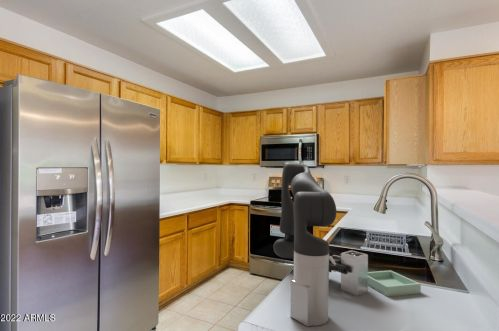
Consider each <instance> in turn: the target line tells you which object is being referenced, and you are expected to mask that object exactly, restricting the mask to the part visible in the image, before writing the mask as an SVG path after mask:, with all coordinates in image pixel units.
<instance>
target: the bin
mask: <svg viewBox="0 0 499 331" xmlns="http://www.w3.org/2000/svg"><path fill="white" fill-rule="evenodd" d="M421 285H422V284H421V282H417V281H415V280H413V279H411V278H408V277H407V276H404V275H402V274H401V273H398V272H395V271H393V270H391V269H390V270H378V271H368V287H370V288H372V289H373V290H375V291H377V292H378V293H380V294H382V295H384V296H385V297H397V296H405V295H406V296H407V295H414V294H415V295H416V294H421V292H422V290H421V289H422V288H421V287H422V286H421Z"/></svg>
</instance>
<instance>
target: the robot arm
mask: <svg viewBox="0 0 499 331" xmlns="http://www.w3.org/2000/svg"><path fill="white" fill-rule="evenodd" d="M281 176H282V177H281V209H280V210H281V212H280V213H281V214H280V222H279V231H280V233H281V234H282V235H283V234H284V235H285V238H278V239H277V240H275V241H274V243H273V246H272V248H273V251H274V253H275V255H277V256H278V257H280V258H284V259H290V260H293V279H292V280H290V311H289V312H290V317H291V318H292V319H294V320H295V321H297V322H299V323H301V325H304V326H306V327H310V326H323V325H324V324H327V323H328V321H329V306H330V304H329V296H330V294H329V290H330V289H329V288H330V281H329V280H330V279H329V278H330V277H329V275H330V273H332V272H334V273H336V272H338V273H340V274H341V273H343V274H348V268H347V267H345V266H342V265H341V253H340V254H338V255H336V254H332V252H331V250H330V245H329V242H328V241H327V240H326V239H324V238H321V237H318V236H316V235H313V234H312V233H311V232H309V231H308V230H307V227H329V226H331V225H332V224H334V222H335V220H336V219H337V218H336V217H337V205H336V202H335V199H334V198H333V196H332V194H331V193H330V192H328V190H327V191H326V190H325V189H324V188H323V187H321V185H319V183H318V181H317V180H316V179H315V178H314V176H313V174H312V173H311V170H310V168H309V166H308V165H307V164H304V163H298V162H290V161H289V162H285V163H284V164H283V168H282V173H281ZM290 189H291V193H292V196H293V199H292V197H291V194H290Z"/></svg>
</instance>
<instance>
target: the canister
mask: <svg viewBox="0 0 499 331" xmlns="http://www.w3.org/2000/svg"><path fill="white" fill-rule="evenodd" d="M340 254H341V265H342V266H345V267H347V268H348V274H343V273H340V290H341V291H343V292H346V293H349V294H351V295H354V296H357V297H359V296H362V295H363V294H365V293H368V290H369V286H368V272H369V255H368V254H367V253H363V252H359V251H355V250H353V249H352V250H348V251H344V252H341V253H340Z"/></svg>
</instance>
